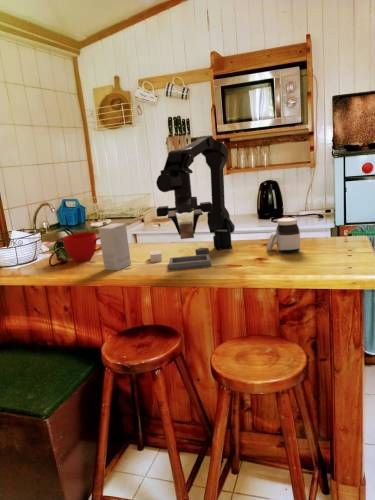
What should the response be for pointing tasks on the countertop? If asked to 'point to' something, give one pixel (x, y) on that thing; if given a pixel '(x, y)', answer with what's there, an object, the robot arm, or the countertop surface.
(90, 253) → the ceramic cup
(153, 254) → the off-white plastic block
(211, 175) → the robot arm
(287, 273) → the countertop surface
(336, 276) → the countertop surface
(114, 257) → the skincare box
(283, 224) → the spread jar
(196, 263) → the charcoal tray
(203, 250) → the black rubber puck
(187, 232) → the walnut block
